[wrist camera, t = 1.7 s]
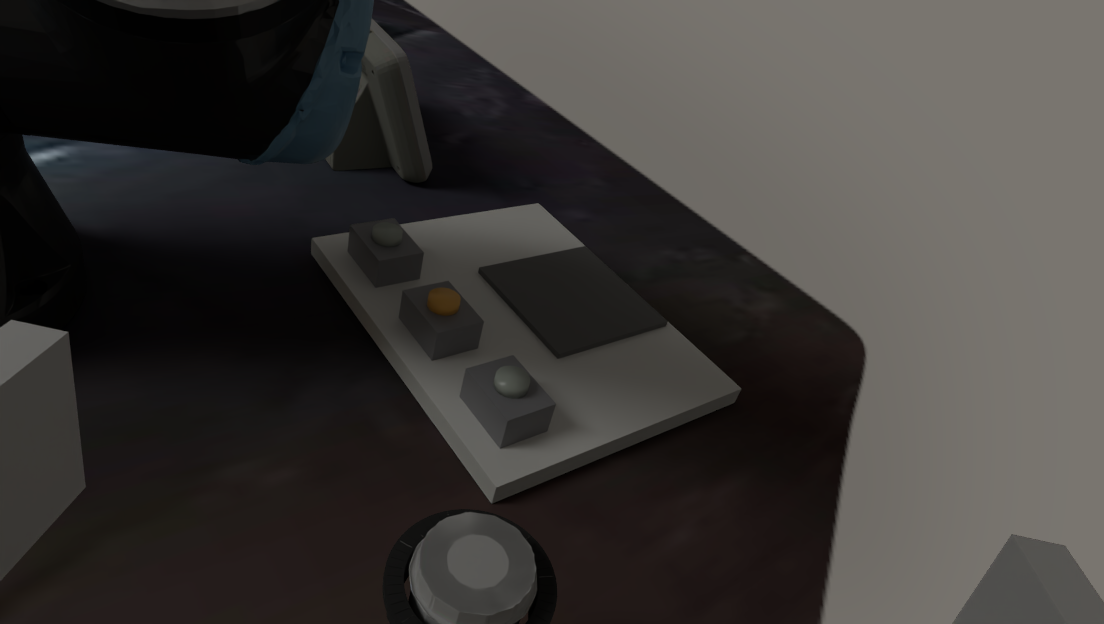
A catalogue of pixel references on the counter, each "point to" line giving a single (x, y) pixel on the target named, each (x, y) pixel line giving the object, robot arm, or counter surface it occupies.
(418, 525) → the push button
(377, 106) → the digital clock
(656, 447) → the counter surface
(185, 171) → the counter surface
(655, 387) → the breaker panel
